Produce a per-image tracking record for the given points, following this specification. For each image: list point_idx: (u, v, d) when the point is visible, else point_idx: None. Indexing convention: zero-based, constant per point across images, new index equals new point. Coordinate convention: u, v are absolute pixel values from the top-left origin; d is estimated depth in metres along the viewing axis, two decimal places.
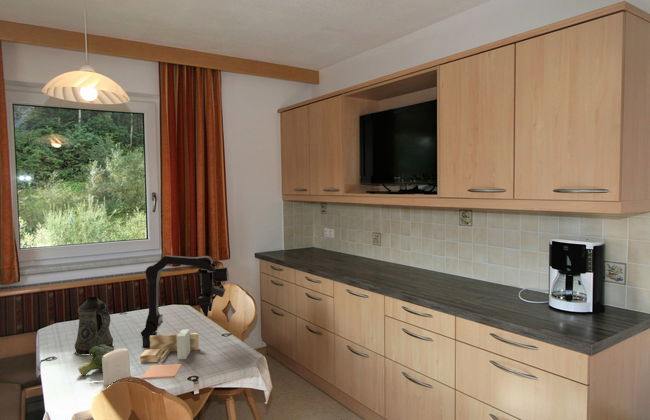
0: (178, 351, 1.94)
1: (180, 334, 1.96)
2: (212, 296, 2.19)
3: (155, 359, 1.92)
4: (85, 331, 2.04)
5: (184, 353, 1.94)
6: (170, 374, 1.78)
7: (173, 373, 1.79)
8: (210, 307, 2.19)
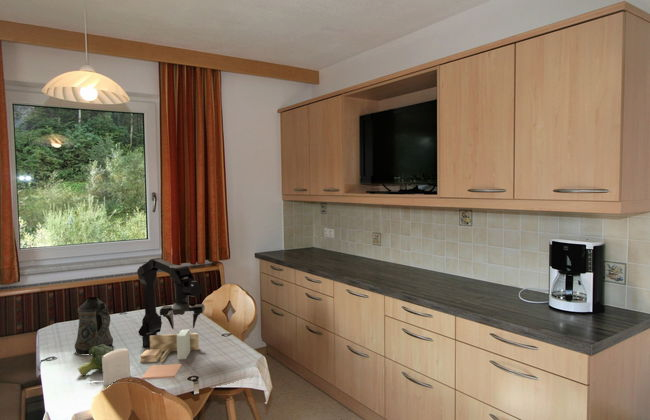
0: (178, 351, 1.94)
1: (180, 334, 1.96)
2: (194, 313, 1.97)
3: (155, 359, 1.92)
4: (85, 331, 2.04)
5: (184, 353, 1.94)
6: (170, 374, 1.78)
7: (173, 373, 1.79)
8: (193, 324, 1.98)
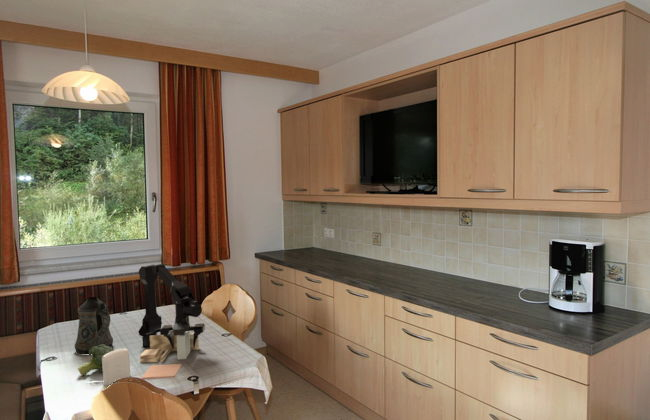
0: (178, 351, 1.94)
1: None
2: (194, 332, 1.97)
3: (155, 359, 1.92)
4: (85, 331, 2.04)
5: (184, 353, 1.94)
6: (170, 374, 1.78)
7: (173, 373, 1.79)
8: None
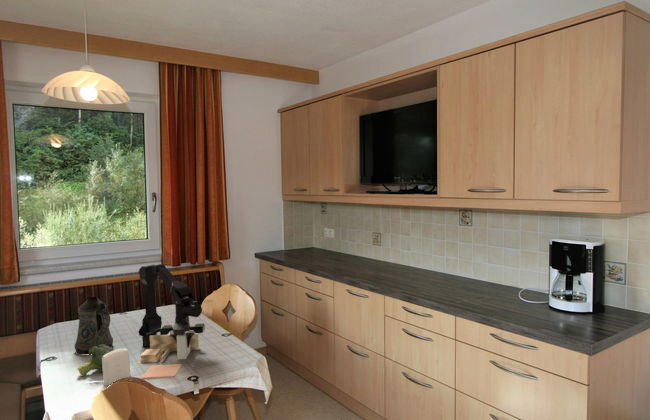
0: (178, 351, 1.94)
1: None
2: (188, 333, 1.97)
3: (155, 359, 1.92)
4: (85, 331, 2.04)
5: (184, 353, 1.94)
6: (170, 374, 1.78)
7: (173, 373, 1.79)
8: None
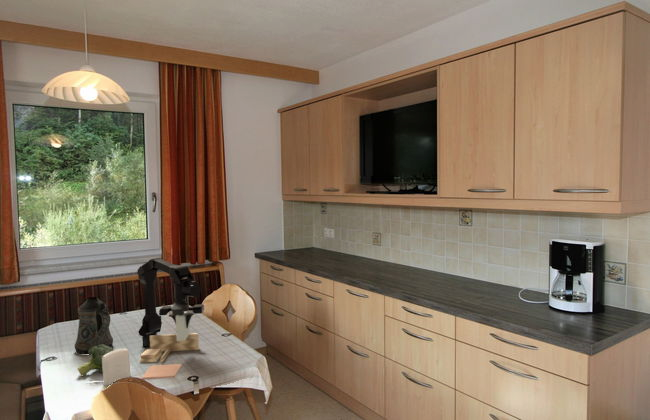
0: (177, 331, 1.93)
1: None
2: (187, 313, 1.96)
3: (154, 359, 1.92)
4: (85, 331, 2.04)
5: (183, 333, 1.93)
6: (170, 374, 1.78)
7: (173, 373, 1.79)
8: None
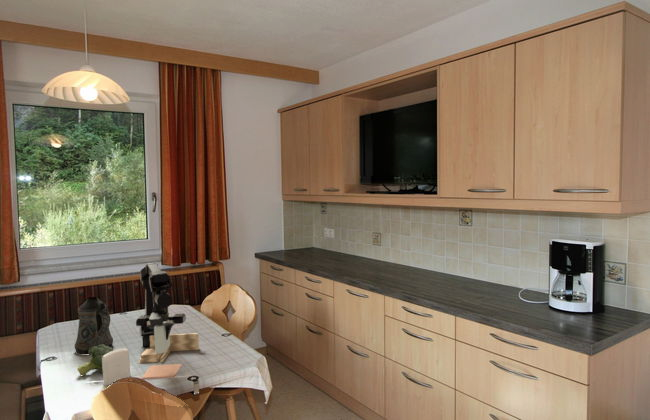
0: (156, 343, 1.77)
1: None
2: (167, 323, 1.81)
3: (154, 359, 1.92)
4: (85, 331, 2.04)
5: (162, 345, 1.78)
6: (170, 374, 1.78)
7: (173, 373, 1.79)
8: None
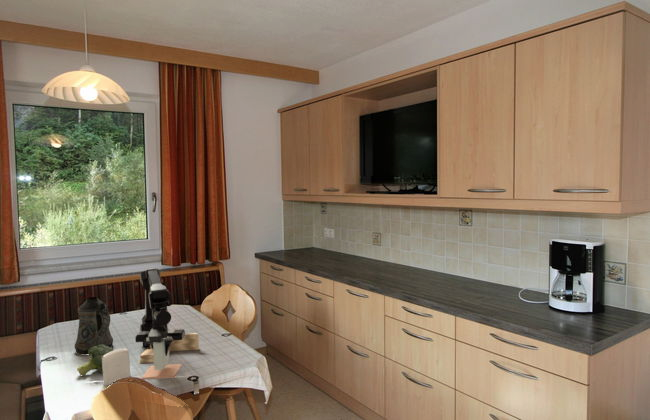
0: (155, 360, 1.77)
1: None
2: None
3: None
4: (85, 331, 2.04)
5: (161, 362, 1.77)
6: (170, 374, 1.78)
7: (173, 373, 1.79)
8: None
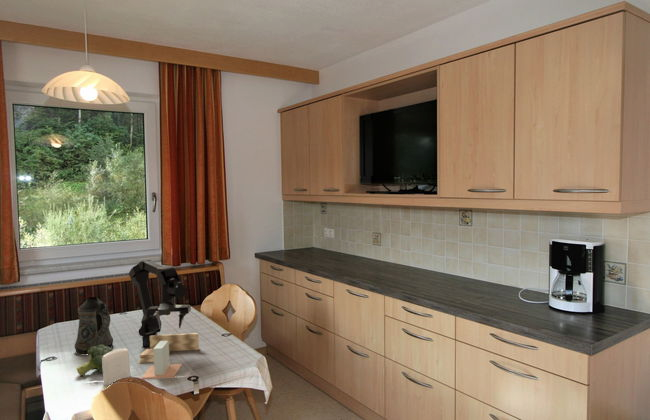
0: (155, 365, 1.77)
1: (157, 346, 1.79)
2: (180, 313, 2.00)
3: None
4: (85, 331, 2.04)
5: (162, 367, 1.78)
6: (170, 374, 1.78)
7: (173, 373, 1.79)
8: None
